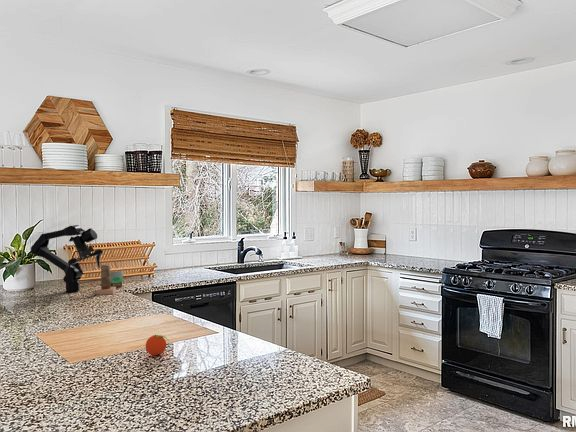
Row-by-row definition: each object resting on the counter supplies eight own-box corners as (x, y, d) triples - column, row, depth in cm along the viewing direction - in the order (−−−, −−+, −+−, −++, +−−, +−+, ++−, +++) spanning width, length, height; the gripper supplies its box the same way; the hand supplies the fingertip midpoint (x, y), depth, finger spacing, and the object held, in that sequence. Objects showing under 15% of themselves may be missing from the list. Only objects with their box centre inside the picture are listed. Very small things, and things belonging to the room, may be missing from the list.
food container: (110, 290, 291) (109, 272, 291) (104, 288, 295) (103, 271, 294) (128, 286, 301) (128, 270, 301) (122, 285, 305) (122, 269, 304)
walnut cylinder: (102, 289, 280) (102, 266, 279) (100, 288, 284) (99, 265, 283) (111, 288, 283) (111, 265, 282) (109, 287, 287) (108, 264, 286)
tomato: (171, 351, 176) (170, 331, 176) (167, 358, 169) (167, 337, 169) (148, 352, 176) (147, 332, 175) (143, 358, 169) (143, 337, 168)
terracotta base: (96, 294, 278) (96, 290, 278) (99, 291, 287) (99, 287, 287) (113, 293, 279) (112, 289, 279) (116, 290, 288) (115, 286, 288)
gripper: (65, 249, 274) (76, 275, 273) (99, 237, 283) (109, 263, 283) (63, 252, 283) (74, 278, 282) (96, 241, 293) (106, 266, 292)
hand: (91, 271), depth 285 cm, fingers open, 9 cm apart
